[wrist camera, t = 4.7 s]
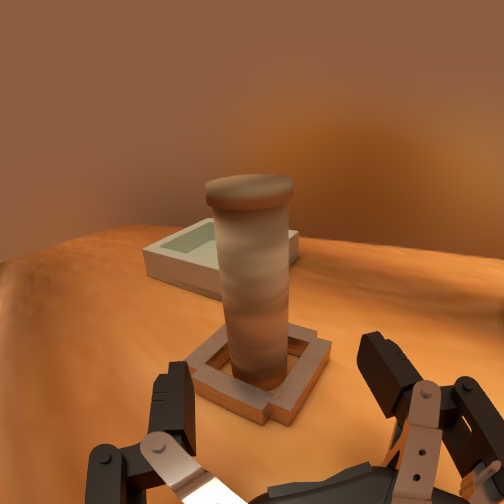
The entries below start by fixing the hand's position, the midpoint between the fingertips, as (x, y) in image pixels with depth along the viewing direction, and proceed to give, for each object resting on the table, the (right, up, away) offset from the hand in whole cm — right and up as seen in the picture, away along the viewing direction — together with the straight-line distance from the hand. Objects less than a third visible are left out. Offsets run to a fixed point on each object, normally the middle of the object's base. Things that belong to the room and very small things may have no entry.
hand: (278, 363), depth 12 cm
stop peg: (-1, -5, +10) cm, 11 cm away
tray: (-5, +3, +28) cm, 28 cm away
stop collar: (-1, -5, +10) cm, 11 cm away
